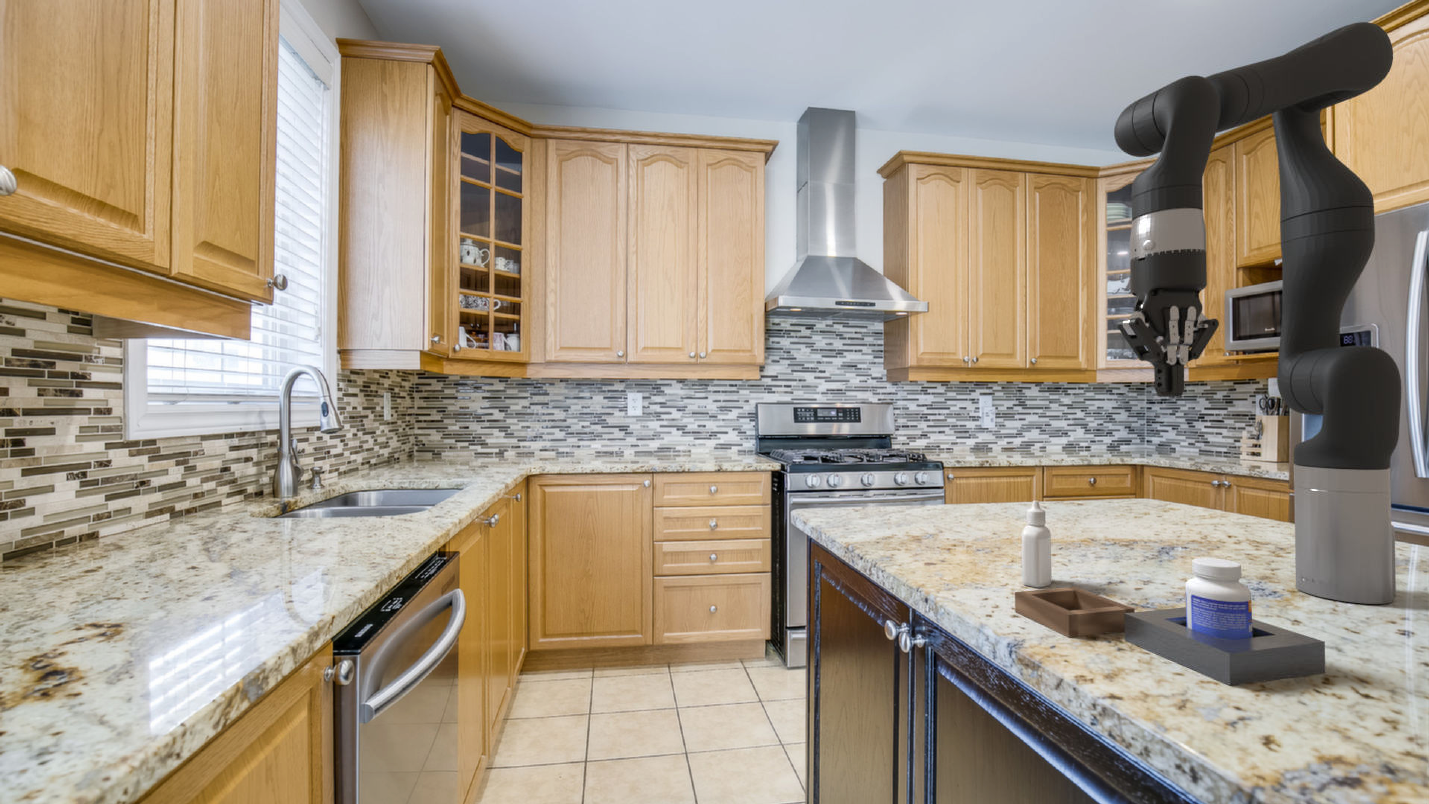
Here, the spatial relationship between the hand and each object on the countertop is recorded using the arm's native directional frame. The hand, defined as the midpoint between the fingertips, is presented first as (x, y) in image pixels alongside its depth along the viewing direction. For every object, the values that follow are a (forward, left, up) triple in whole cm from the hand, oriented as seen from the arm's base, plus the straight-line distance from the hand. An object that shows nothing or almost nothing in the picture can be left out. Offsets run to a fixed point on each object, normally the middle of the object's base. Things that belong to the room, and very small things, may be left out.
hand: (1169, 396), depth 76 cm
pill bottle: (+5, +10, -27) cm, 29 cm away
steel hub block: (+6, +10, -27) cm, 29 cm away
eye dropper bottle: (+5, -17, -27) cm, 32 cm away
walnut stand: (+12, -2, -27) cm, 30 cm away
